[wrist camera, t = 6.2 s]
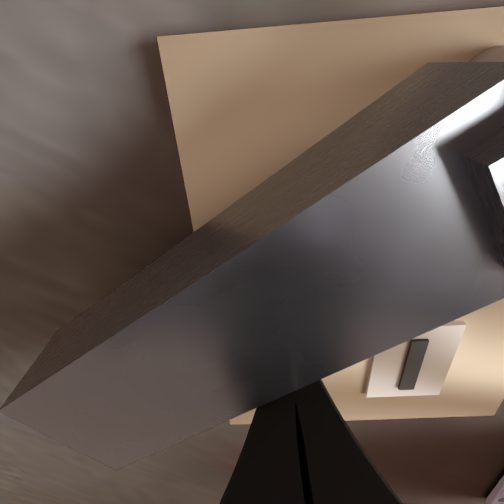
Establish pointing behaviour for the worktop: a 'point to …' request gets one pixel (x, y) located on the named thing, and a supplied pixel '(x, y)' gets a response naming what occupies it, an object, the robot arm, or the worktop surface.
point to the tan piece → (308, 134)
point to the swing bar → (292, 276)
